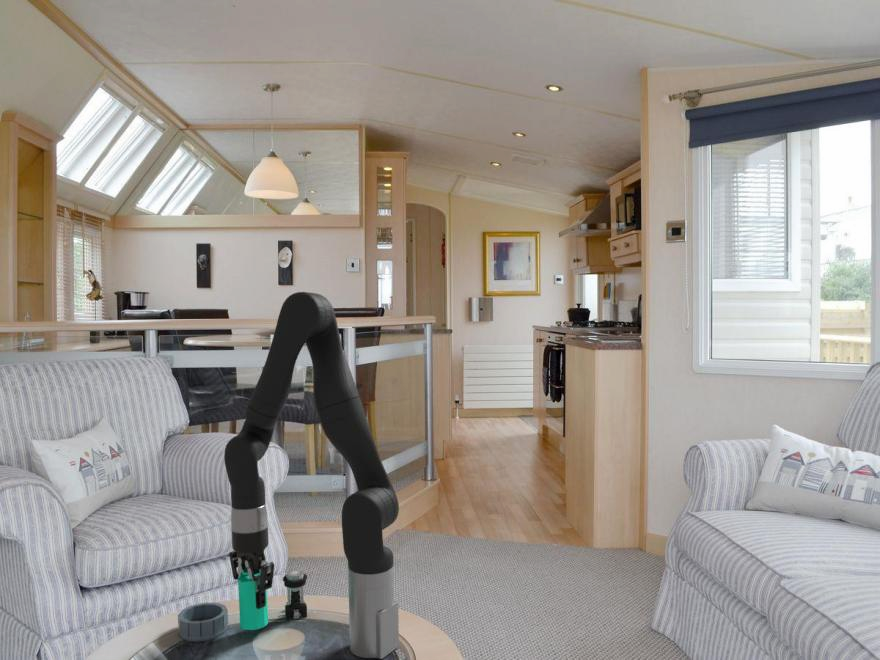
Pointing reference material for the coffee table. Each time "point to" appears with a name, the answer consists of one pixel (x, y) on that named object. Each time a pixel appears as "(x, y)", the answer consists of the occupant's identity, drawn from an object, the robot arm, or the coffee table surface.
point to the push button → (294, 595)
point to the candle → (250, 605)
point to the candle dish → (202, 622)
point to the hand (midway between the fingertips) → (253, 603)
